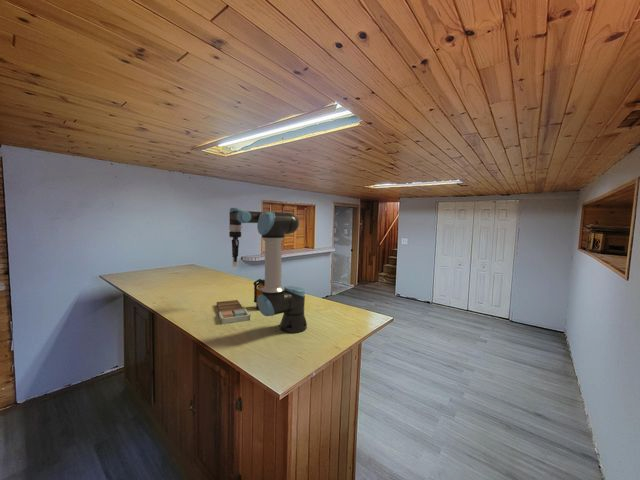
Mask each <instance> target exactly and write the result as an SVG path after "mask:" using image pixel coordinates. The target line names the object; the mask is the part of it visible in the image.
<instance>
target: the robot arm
mask: <svg viewBox="0 0 640 480" xmlns="http://www.w3.org/2000/svg"><path fill="white" fill-rule="evenodd" d="M228 215H229V217H228V218H229V226H228V228H229V229H228V230H229V233H228V236H229V238H232V239H231V256H232V267H233V268H235V267H238V257H239V246H240V245H239V244H240V243H239V242H240V240H239V239H238V238H242V232H241V231H242V228H243V226H242V224H257V233H259V234H260V235H261V239H263V241H264V280H265V287H264V288H263V289H262V294H260V295H259V296H258V298H257V304H258V308H259V309H258V310H259V312H260V313H261V315H263V316H265V317H273V316H276V315H280V314H283V315H282V318H281V321H280V323H279V328H280V330H281V331H282V332H285V333H291V334H298V333H302V332H304V331H306V329H308V322H307V319H306V316H305V299H306V294H305V292H306V291H305V290H304V288H302V287H298V286H293V285H286V286H284V287H283V286H282V241H283V240H284V239H285V235H291V234H293V233H295V232H296V231H297V230H298V228H299V226H300V221H299V218H298V216H296V214H293V213H290V212H280V211H279V212H276V211H253V210H252V211H250V210H242V208H241V207H230V208H229V213H228Z"/></svg>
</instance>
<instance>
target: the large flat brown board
mask: <svg viewBox="0 0 640 480" xmlns="http://www.w3.org/2000/svg"><path fill="white" fill-rule="evenodd" d="M216 308H217V310H218V313H219V312H226V311H232V313H233V314H234V311H235V310H244V309H245V308H243V306H242V304H241V303H240V302H239V300H238V299H231V300H224V301H216Z"/></svg>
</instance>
